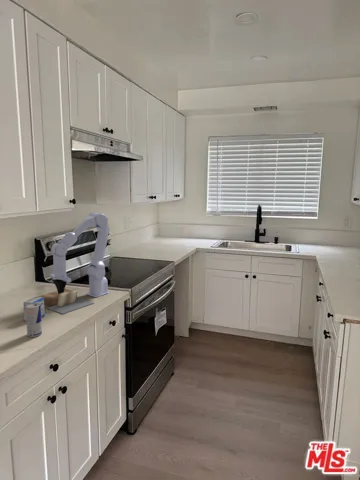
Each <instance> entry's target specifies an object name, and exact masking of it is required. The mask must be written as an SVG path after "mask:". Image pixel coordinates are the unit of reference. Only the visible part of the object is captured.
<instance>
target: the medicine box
mask: <svg viewBox="0 0 360 480" xmlns="http://www.w3.org/2000/svg"><path fill="white" fill-rule="evenodd" d="M32 303H38V304H40V306H41V318H43V317H45V314H46V312H45V311H46V310H45V306H44V298H43V297H37V296H35V297H32V298H30V299H28V300H25V301H23V303H22V304H23V313H24V315H23V316H24V321H25V322H26V306H27V305H28V304H32Z"/></svg>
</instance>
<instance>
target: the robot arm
mask: <svg viewBox="0 0 360 480" xmlns="http://www.w3.org/2000/svg"><path fill="white" fill-rule="evenodd" d="M109 225H110V224H109V217H107V215H106V214H105V213H103V212H102V213H101V212H100V213H99V212H94V211H92V212H90V213H89V214H88V215H87V216H85V218H84V220H82V222H80V224H79V225H77V227H76V228H75V229H74V230H73V231H72V232H71V231H69V232H66V233H64V236H63V237H62V238H61V239H58V240H57V242H56V243H54V244H52V246H51V249H50V252H51V254H52V256H53V257H52V259H53V261H52V263H53V273H50V274H49V277H50V279H52V280H53V281H52V283H53V284H54V286H55V288H56V291H58V294H61V293H64V289H66V285H67V284H69V283H72V278H71V277H69V276H68V275H67V262H66V255H67V253H68V250H69V248H71V247H73V245H74V244H75V243H76V242H77V241H78V237H79V236H80V235H81V234H82V233H84V232H85V231H86V230H87V229H89V228H90V227H95V228H96V230H97V237H96V241H95V247H94V253H93V257H92V260H90V262H89V265H88V267H87V268H86V274H87V275H88V281H89V283H88V284H89V285H88V286H89V292H87V293H85V294H86V295H87V296H90V297H93V298H98V297H101V296H103V295H104V296H105V295H107V294H109V293H110V292H109V285H108V279H107V278H106V277H105V276H106V269H105V268H106V266H105V265H106V264H105V263H104V258H105V253H106V249H107V244H108V239H109V238H108V237H109V235H110V234H109V233H110V226H109Z"/></svg>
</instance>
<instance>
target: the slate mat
mask: <svg viewBox="0 0 360 480" xmlns="http://www.w3.org/2000/svg"><path fill="white" fill-rule="evenodd" d="M93 304H95V302H92V301H90V300H88V299H84V298H81V297H77V298H76V302H73V303H70V304H67V305H63V306H59V305H58V304H57V305H54V306H51V307H47V309H48V310H50V311H52V312H56V313H58V314H60V315H65V314H68V313H71V312H74V311H77V310H79V309H82V308H83V309H84V308H85V307H88V306H90V305H93Z"/></svg>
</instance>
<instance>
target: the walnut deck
mask: <svg viewBox="0 0 360 480" xmlns="http://www.w3.org/2000/svg"><path fill="white" fill-rule="evenodd" d="M71 290H72V289H67V288H65V289H64V292H68V291H71ZM36 297H43V298H44V307H46V308H48V307H51V306H54V305H57V304H58V298H59V294H58V291H57V290H56V291H52V292H48V293H44V294H42V295H38V296H36ZM76 298H78V296H77V297H76Z"/></svg>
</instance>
